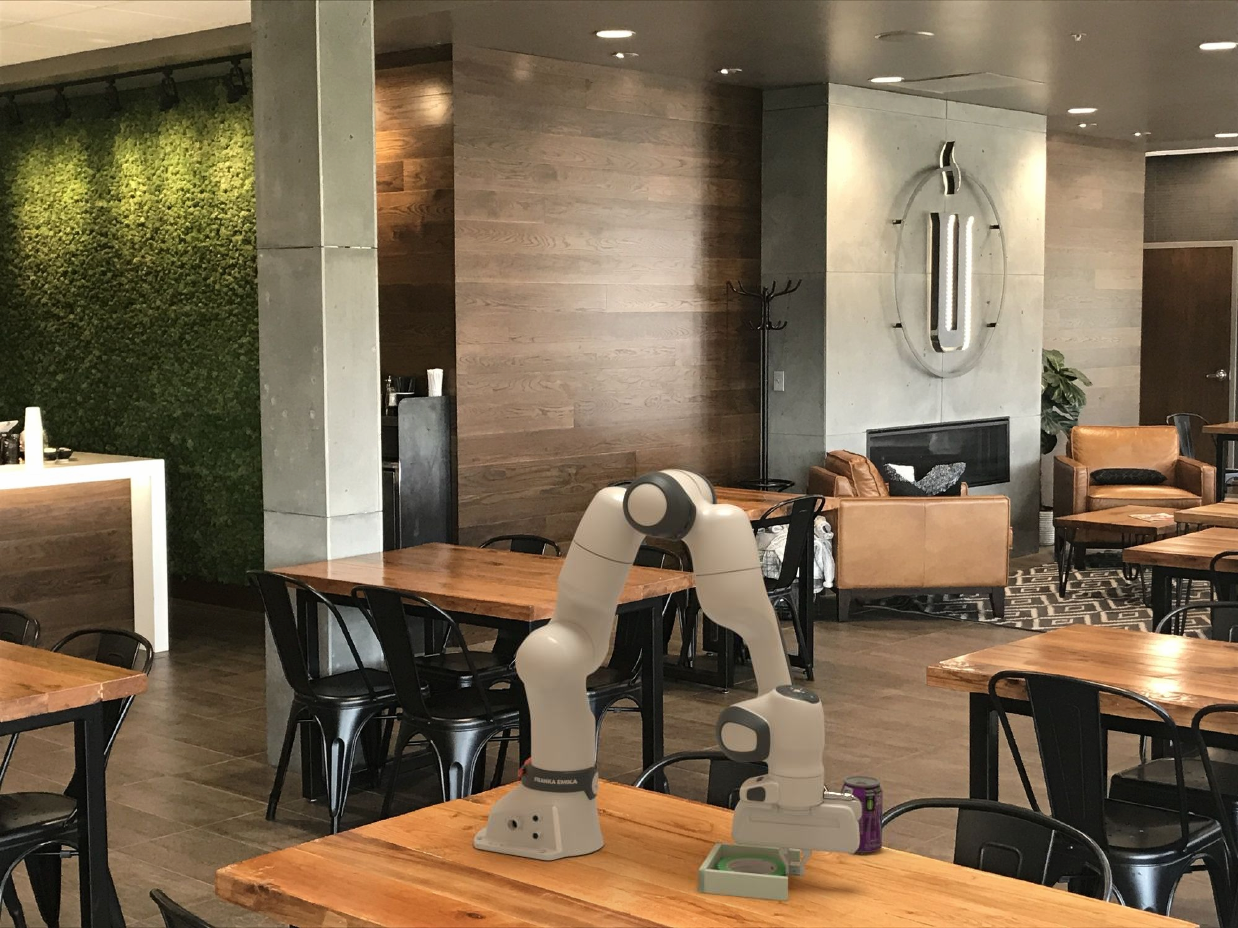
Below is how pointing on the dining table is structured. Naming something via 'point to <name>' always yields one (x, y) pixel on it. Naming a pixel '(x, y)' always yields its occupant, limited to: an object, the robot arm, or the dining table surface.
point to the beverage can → (867, 810)
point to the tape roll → (752, 865)
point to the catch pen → (739, 881)
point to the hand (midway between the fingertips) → (794, 874)
